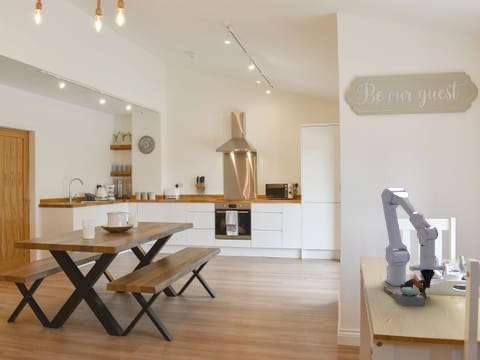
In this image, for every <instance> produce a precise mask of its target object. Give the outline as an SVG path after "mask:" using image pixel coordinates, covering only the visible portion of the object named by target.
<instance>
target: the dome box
mask: <svg viewBox="0 0 480 360" xmlns="http://www.w3.org/2000/svg"><path fill="white" fill-rule="evenodd" d="M394 293H395V298H394V299H395V300H396V301H397V302H399V304H401V305H402V306H404V307H405V306H406V307H407V306H409V307H410V306H412V307H415V306H425V298H424V297H422V296H421V295H419V294H420V293H418V294H417V295H412V296H407V294H403V293H402V292H401V291H395V292H394Z"/></svg>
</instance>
